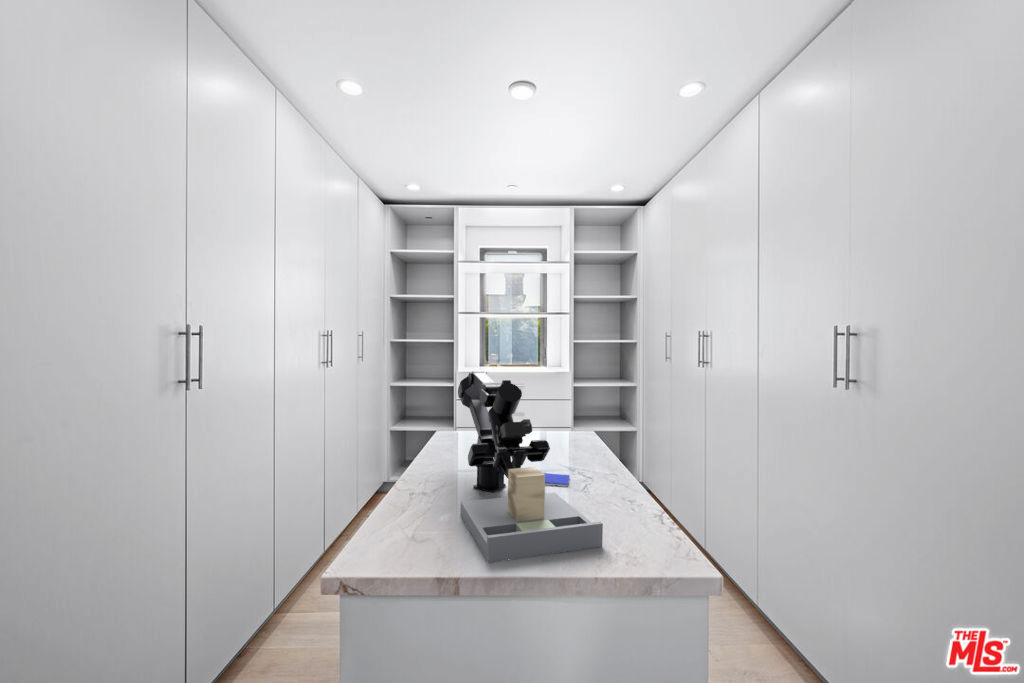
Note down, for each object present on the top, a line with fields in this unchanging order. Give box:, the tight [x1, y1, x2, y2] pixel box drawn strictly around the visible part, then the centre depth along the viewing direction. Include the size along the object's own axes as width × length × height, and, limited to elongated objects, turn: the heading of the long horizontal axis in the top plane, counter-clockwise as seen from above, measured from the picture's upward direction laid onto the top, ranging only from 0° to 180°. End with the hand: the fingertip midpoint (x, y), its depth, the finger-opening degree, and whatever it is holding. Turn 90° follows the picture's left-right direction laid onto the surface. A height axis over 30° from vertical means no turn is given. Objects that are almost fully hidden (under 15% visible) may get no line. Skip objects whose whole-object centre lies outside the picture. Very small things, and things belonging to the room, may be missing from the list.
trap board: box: [460, 492, 604, 564], centre depth 97 cm, size 23×23×4 cm
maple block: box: [507, 466, 546, 521], centre depth 98 cm, size 6×6×9 cm
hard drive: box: [542, 472, 571, 487], centre depth 131 cm, size 2×8×12 cm
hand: (516, 486), depth 103 cm, fingers closed
